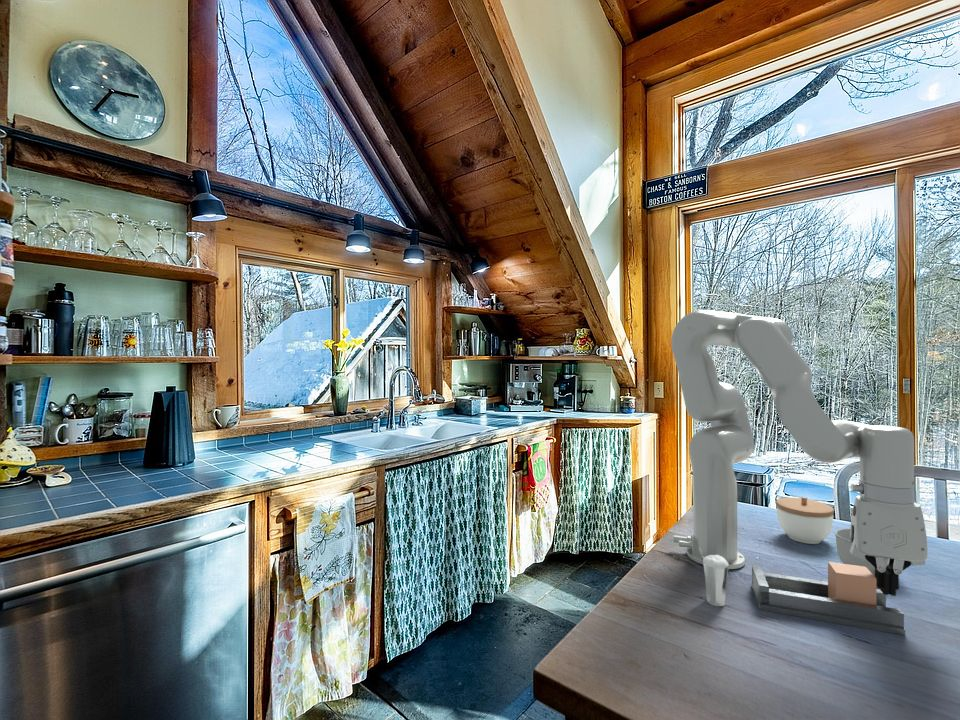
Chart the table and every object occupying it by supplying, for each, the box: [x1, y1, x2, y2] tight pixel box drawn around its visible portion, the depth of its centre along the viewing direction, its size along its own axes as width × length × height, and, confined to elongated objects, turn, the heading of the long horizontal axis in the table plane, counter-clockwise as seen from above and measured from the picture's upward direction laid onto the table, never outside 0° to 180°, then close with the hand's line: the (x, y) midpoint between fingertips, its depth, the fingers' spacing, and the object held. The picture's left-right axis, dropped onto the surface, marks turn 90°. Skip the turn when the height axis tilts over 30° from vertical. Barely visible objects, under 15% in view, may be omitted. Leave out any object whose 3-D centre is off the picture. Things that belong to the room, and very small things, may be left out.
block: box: [827, 561, 877, 605], centre depth 88 cm, size 6×5×7 cm
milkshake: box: [699, 548, 729, 608], centre depth 92 cm, size 5×5×10 cm
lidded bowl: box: [775, 496, 835, 545], centre depth 123 cm, size 13×13×11 cm
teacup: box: [834, 527, 888, 576], centre depth 106 cm, size 14×11×8 cm
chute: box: [751, 565, 906, 636], centre depth 90 cm, size 22×10×4 cm, turn 68°
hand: (886, 591), depth 86 cm, fingers closed
